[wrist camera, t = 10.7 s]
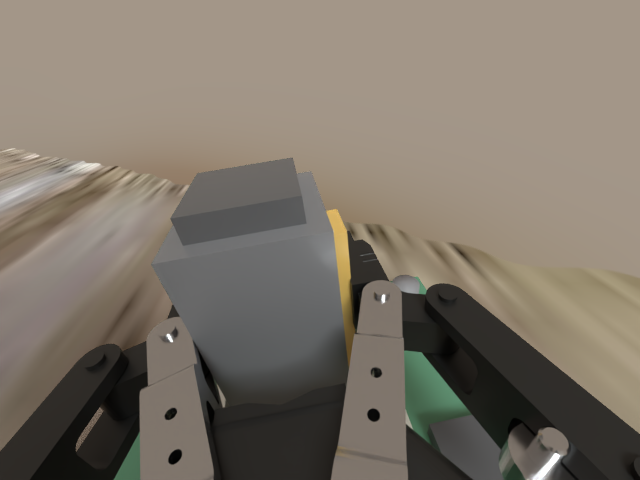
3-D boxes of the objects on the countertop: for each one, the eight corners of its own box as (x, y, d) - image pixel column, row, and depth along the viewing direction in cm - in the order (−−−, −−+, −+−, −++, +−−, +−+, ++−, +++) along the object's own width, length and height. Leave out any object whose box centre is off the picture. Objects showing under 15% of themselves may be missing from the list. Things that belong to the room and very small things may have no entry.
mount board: (44, 697, 9) (-36, 701, 7) (171, 333, 21) (152, 301, 19) (584, 559, 10) (627, 535, 8) (416, 288, 22) (420, 254, 20)
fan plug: (253, 449, 12) (135, 235, 6) (257, 359, 16) (183, 170, 10) (368, 423, 13) (355, 197, 7) (346, 340, 16) (324, 147, 10)
